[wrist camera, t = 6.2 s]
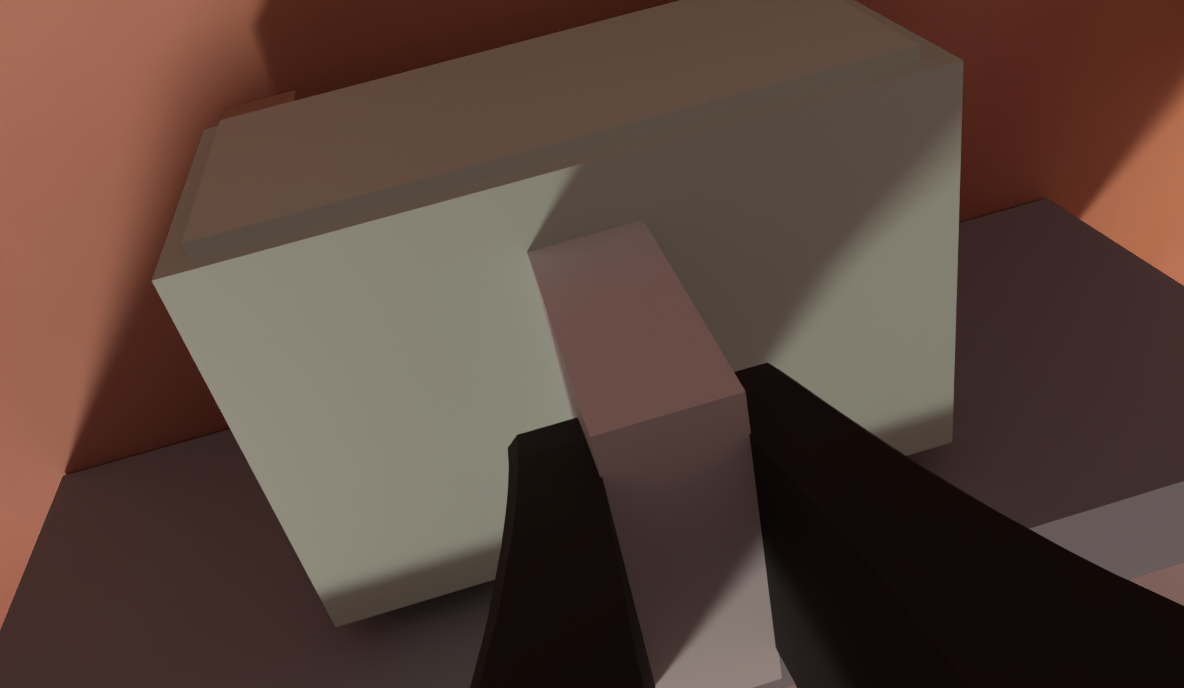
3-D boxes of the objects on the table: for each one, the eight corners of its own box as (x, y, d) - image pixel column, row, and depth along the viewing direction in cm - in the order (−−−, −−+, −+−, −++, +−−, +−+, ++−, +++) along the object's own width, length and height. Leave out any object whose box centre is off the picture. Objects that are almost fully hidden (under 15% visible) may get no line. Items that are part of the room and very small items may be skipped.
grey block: (337, 391, 16) (332, 869, 9) (208, 93, 13) (67, 479, 6) (799, 261, 16) (1104, 624, 10) (775, -55, 13) (1185, 160, 7)
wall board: (104, 538, 17) (-26, 941, 11) (-33, 330, 15) (-288, 706, 9) (1041, 268, 18) (1360, 507, 13) (1058, 34, 16) (1462, 196, 10)
